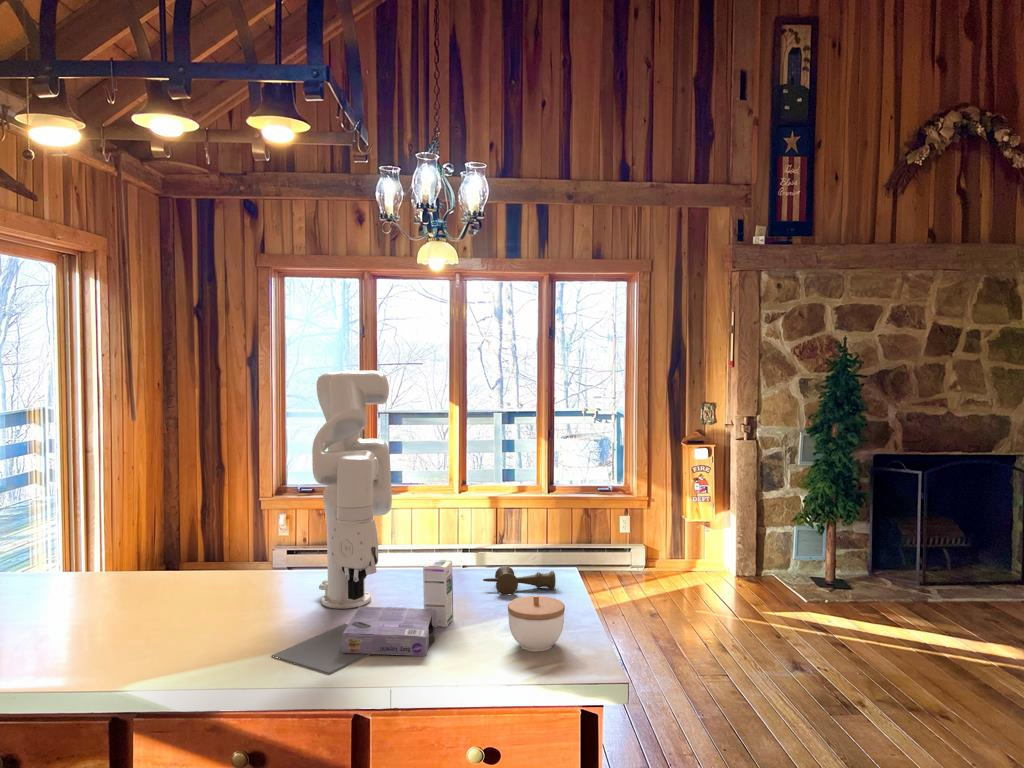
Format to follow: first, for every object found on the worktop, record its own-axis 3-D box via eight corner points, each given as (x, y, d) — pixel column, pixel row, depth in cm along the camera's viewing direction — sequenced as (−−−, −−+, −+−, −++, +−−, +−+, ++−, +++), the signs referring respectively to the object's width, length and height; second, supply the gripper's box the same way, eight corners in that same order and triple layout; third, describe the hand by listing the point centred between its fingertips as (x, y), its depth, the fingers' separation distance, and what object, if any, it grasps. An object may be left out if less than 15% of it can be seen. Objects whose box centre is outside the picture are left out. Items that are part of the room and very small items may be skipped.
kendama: (557, 596, 202) (483, 595, 201) (552, 586, 212) (481, 585, 210) (557, 574, 202) (483, 573, 201) (553, 565, 212) (482, 564, 210)
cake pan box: (431, 658, 160) (437, 625, 178) (431, 636, 160) (438, 605, 178) (340, 656, 160) (356, 623, 178) (341, 633, 160) (356, 603, 177)
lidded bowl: (548, 661, 158) (549, 609, 157) (497, 649, 164) (497, 599, 164) (574, 641, 169) (574, 592, 168) (524, 631, 175) (524, 584, 175)
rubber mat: (271, 656, 160) (271, 655, 160) (345, 625, 179) (344, 623, 179) (329, 674, 151) (329, 672, 151) (400, 639, 170) (400, 637, 170)
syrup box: (447, 627, 177) (446, 566, 177) (423, 626, 178) (422, 565, 178) (453, 619, 183) (453, 560, 182) (430, 617, 184) (430, 559, 183)
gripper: (317, 512, 162) (318, 596, 162) (369, 520, 154) (370, 608, 155) (342, 506, 168) (342, 587, 169) (393, 513, 160) (394, 598, 161)
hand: (355, 597), depth 162 cm, fingers closed
